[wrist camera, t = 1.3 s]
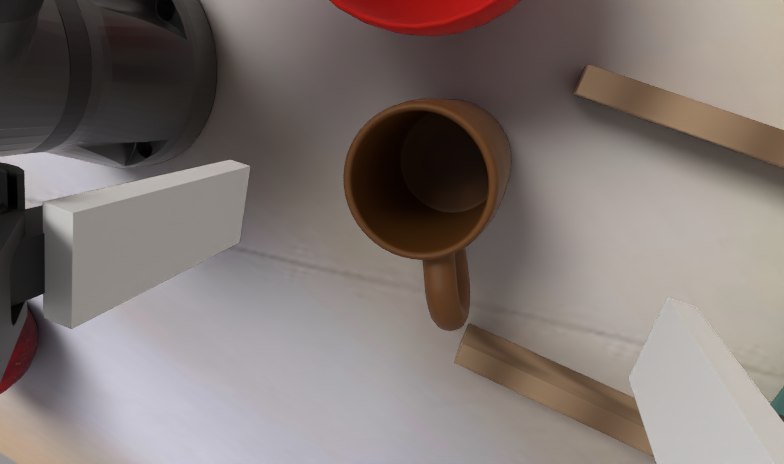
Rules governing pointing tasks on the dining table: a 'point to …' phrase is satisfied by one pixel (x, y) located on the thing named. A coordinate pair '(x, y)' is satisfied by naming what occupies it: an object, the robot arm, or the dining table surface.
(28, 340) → the fruit
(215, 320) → the dining table surface
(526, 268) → the dining table surface
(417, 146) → the mug
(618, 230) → the dining table surface
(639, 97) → the u-shaped wooden frame
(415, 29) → the red bowl
